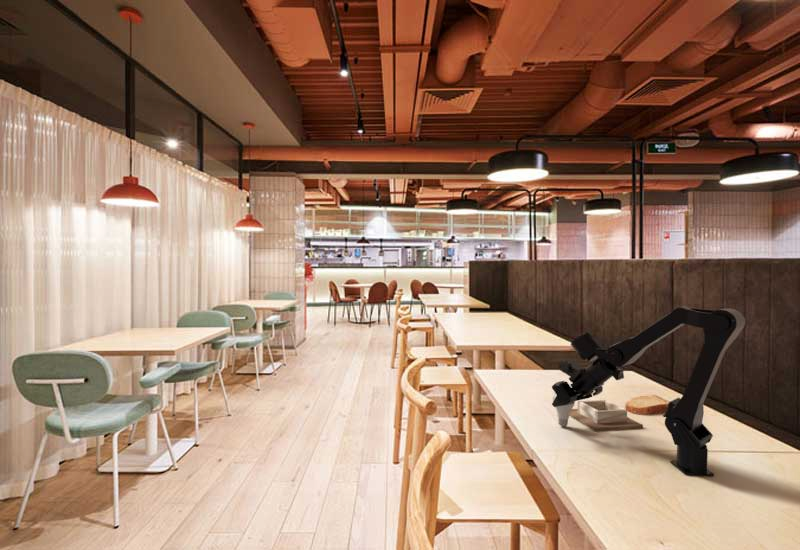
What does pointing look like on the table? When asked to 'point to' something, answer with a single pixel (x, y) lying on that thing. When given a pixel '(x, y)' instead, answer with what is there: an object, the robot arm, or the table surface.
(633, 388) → the table surface
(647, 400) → the slice of bread
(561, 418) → the lightbulb
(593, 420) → the socket board
